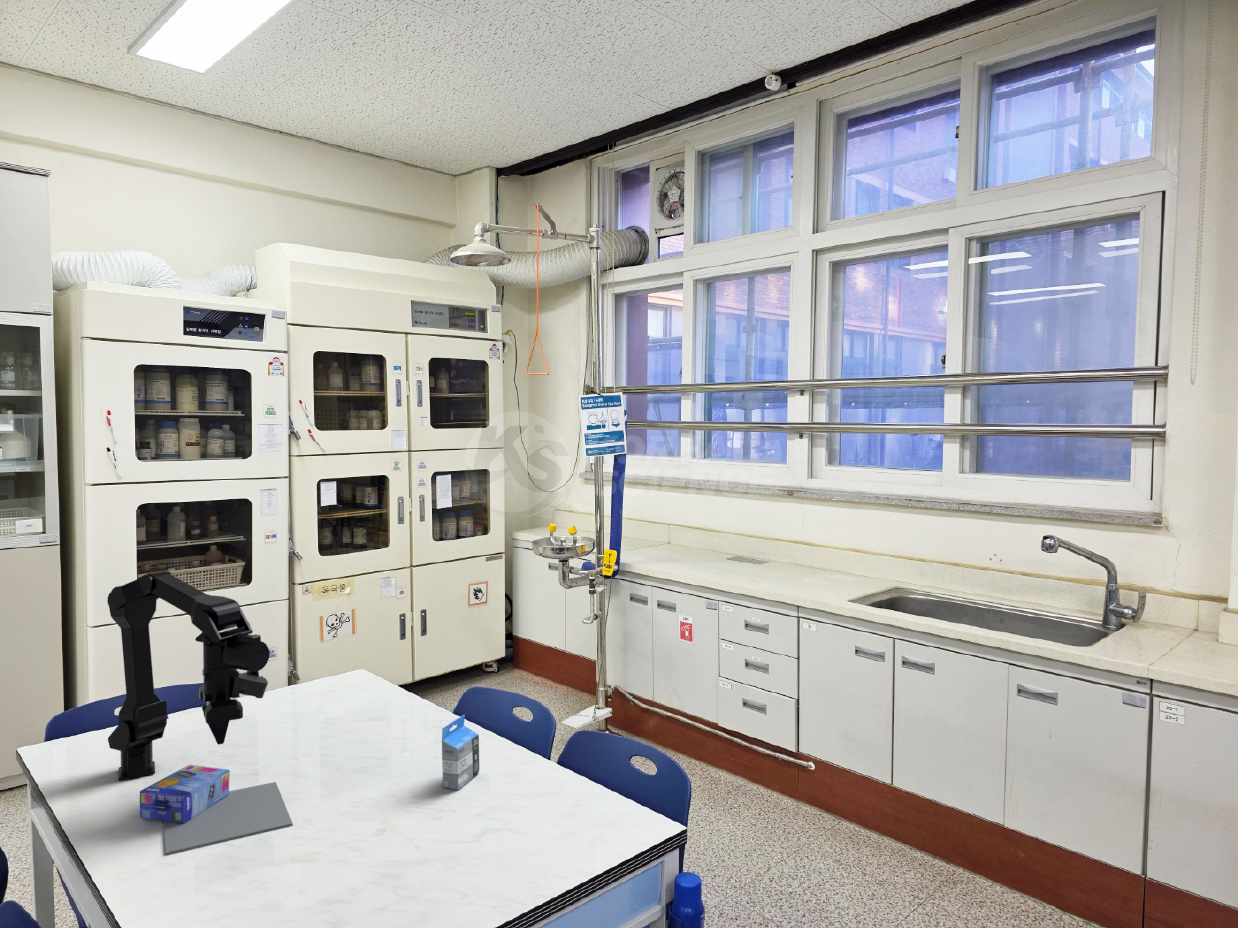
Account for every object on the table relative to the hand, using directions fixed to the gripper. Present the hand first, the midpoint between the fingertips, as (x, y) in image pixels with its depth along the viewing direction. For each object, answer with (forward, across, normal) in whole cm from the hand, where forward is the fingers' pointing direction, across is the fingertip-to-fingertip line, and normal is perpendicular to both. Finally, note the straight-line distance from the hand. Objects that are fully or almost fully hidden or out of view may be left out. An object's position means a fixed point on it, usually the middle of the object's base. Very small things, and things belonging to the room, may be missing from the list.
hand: (220, 743), depth 155 cm
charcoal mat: (+10, -10, 0) cm, 14 cm away
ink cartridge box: (+7, +1, +2) cm, 7 cm away
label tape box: (+10, -18, -43) cm, 48 cm away
